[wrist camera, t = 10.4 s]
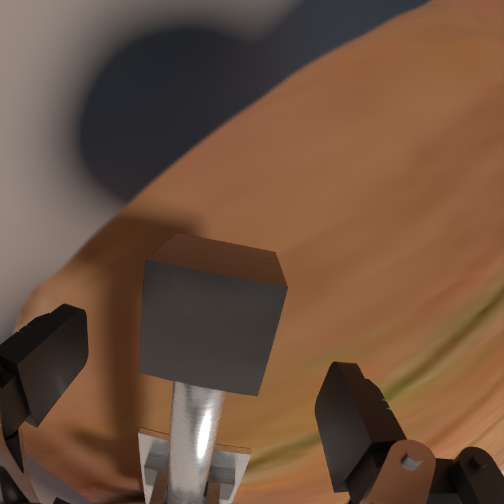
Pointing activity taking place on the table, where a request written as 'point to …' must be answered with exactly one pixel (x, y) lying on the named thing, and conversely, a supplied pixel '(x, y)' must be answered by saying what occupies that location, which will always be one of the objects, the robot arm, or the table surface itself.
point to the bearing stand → (219, 476)
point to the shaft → (206, 340)
